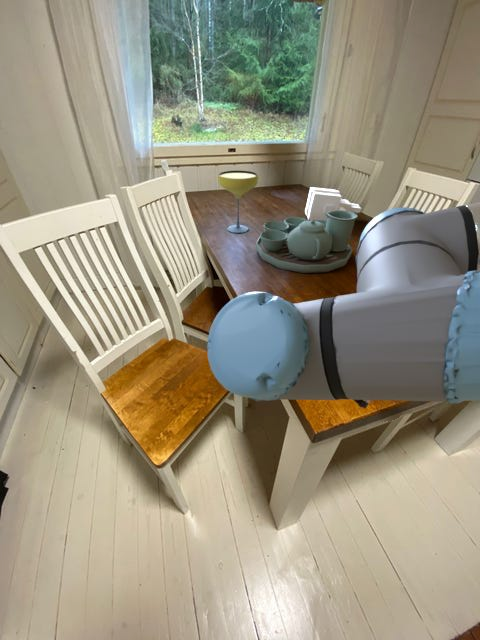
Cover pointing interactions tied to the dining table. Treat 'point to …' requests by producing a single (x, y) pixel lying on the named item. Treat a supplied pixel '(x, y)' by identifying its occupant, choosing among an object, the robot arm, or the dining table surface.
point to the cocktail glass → (238, 190)
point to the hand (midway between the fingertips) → (347, 379)
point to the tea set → (308, 242)
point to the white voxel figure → (326, 203)
